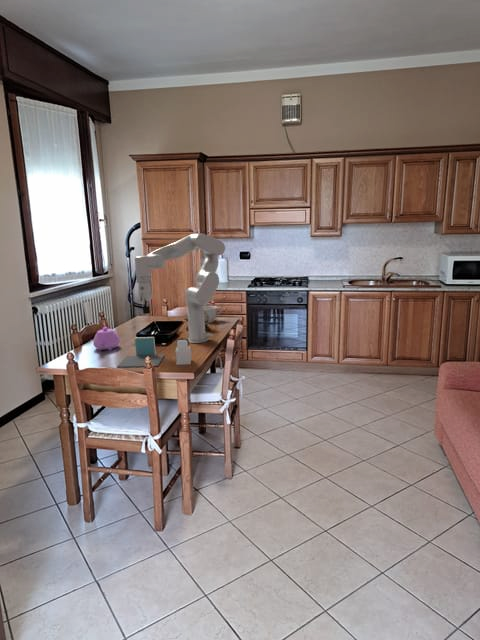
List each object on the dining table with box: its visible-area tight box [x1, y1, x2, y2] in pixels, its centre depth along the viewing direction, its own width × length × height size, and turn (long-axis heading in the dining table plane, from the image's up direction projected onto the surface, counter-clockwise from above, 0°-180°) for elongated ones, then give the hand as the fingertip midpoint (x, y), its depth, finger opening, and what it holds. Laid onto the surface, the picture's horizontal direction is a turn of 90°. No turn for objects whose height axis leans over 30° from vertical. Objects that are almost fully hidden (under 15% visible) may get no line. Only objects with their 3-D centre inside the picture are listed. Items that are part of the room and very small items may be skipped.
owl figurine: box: [183, 310, 212, 333], centre depth 283 cm, size 18×12×17 cm, turn 65°
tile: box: [134, 336, 157, 356], centre depth 232 cm, size 10×2×10 cm, turn 88°
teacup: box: [203, 305, 223, 323], centre depth 305 cm, size 12×15×10 cm
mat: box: [116, 354, 165, 368], centre depth 224 cm, size 20×17×1 cm
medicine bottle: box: [175, 338, 192, 366], centre depth 219 cm, size 7×7×12 cm
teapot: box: [93, 326, 120, 352], centre depth 248 cm, size 20×14×12 cm
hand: (146, 313), depth 238 cm, fingers closed
